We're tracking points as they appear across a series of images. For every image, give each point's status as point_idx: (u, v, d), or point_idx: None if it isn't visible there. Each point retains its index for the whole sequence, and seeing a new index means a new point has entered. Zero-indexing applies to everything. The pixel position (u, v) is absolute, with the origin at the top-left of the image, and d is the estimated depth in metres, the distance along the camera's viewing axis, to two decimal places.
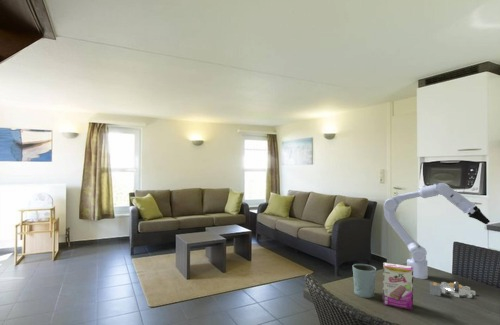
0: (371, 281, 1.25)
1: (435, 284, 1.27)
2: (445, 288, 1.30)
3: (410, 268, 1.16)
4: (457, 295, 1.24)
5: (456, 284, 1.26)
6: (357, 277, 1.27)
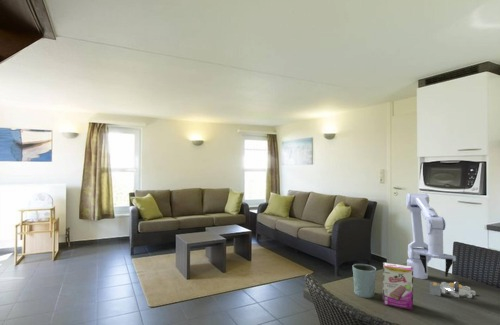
0: (371, 281, 1.25)
1: (435, 284, 1.27)
2: (445, 288, 1.30)
3: (410, 268, 1.16)
4: (457, 295, 1.24)
5: (456, 284, 1.26)
6: (357, 277, 1.27)
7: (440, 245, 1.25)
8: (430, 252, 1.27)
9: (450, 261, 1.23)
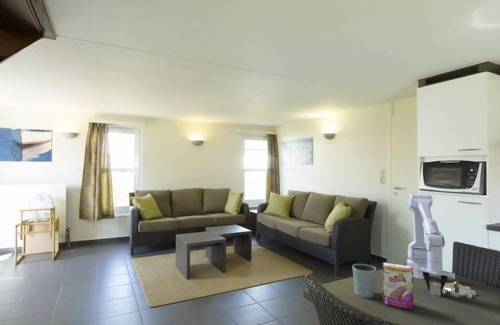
0: (371, 281, 1.25)
1: (435, 284, 1.27)
2: (445, 288, 1.30)
3: (410, 268, 1.16)
4: (457, 295, 1.24)
5: (456, 284, 1.26)
6: (357, 277, 1.27)
7: (439, 262, 1.25)
8: (429, 269, 1.27)
9: None
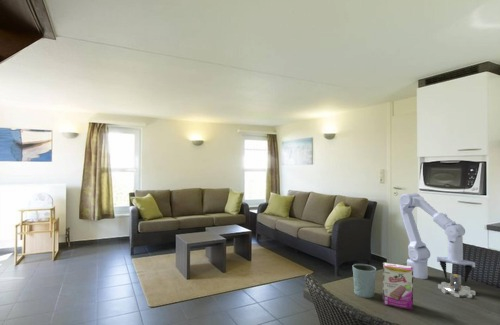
0: (371, 281, 1.25)
1: (456, 275, 1.32)
2: (445, 288, 1.30)
3: (410, 268, 1.16)
4: (457, 295, 1.24)
5: (456, 284, 1.26)
6: (357, 277, 1.27)
7: (460, 252, 1.30)
8: (450, 258, 1.33)
9: (470, 267, 1.29)
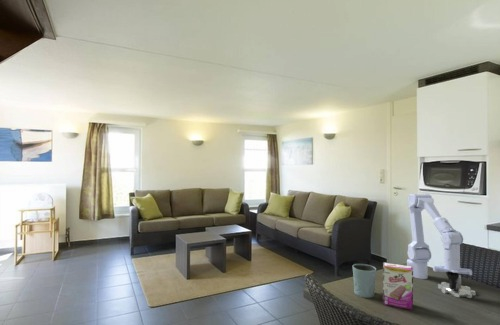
0: (371, 281, 1.25)
1: None
2: (445, 288, 1.30)
3: (410, 268, 1.16)
4: (457, 295, 1.24)
5: (456, 284, 1.26)
6: (357, 277, 1.27)
7: (458, 260, 1.25)
8: (448, 267, 1.26)
9: None
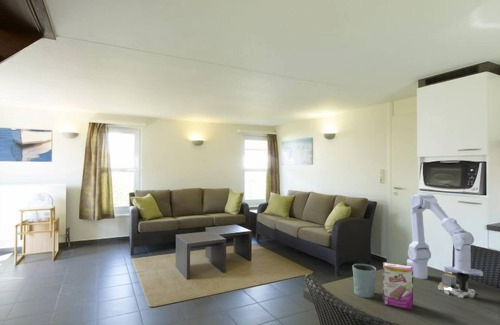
0: (371, 281, 1.25)
1: (450, 275, 1.33)
2: (458, 292, 1.25)
3: (410, 268, 1.16)
4: (473, 295, 1.24)
5: (467, 284, 1.26)
6: (357, 277, 1.27)
7: (469, 261, 1.24)
8: (459, 268, 1.25)
9: None
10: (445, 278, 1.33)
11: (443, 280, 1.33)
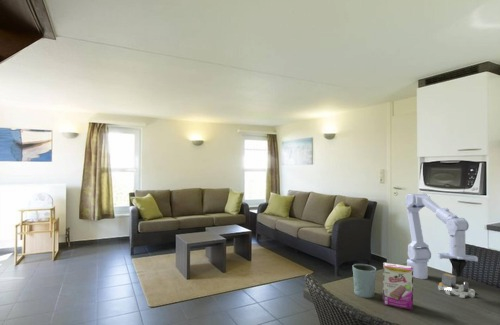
0: (371, 281, 1.25)
1: (450, 275, 1.32)
2: (459, 292, 1.25)
3: (410, 268, 1.16)
4: (473, 295, 1.24)
5: None
6: (357, 277, 1.27)
7: (464, 246, 1.24)
8: (454, 254, 1.25)
9: None
10: (445, 278, 1.32)
11: (443, 280, 1.33)
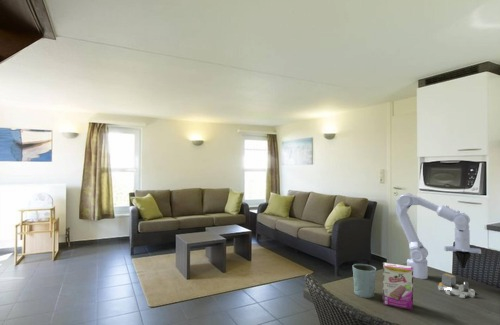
0: (371, 281, 1.25)
1: (450, 275, 1.32)
2: (459, 292, 1.25)
3: (410, 268, 1.16)
4: (473, 295, 1.24)
5: None
6: (357, 277, 1.27)
7: (468, 240, 1.34)
8: (459, 247, 1.35)
9: None
10: (445, 278, 1.32)
11: (443, 280, 1.33)
